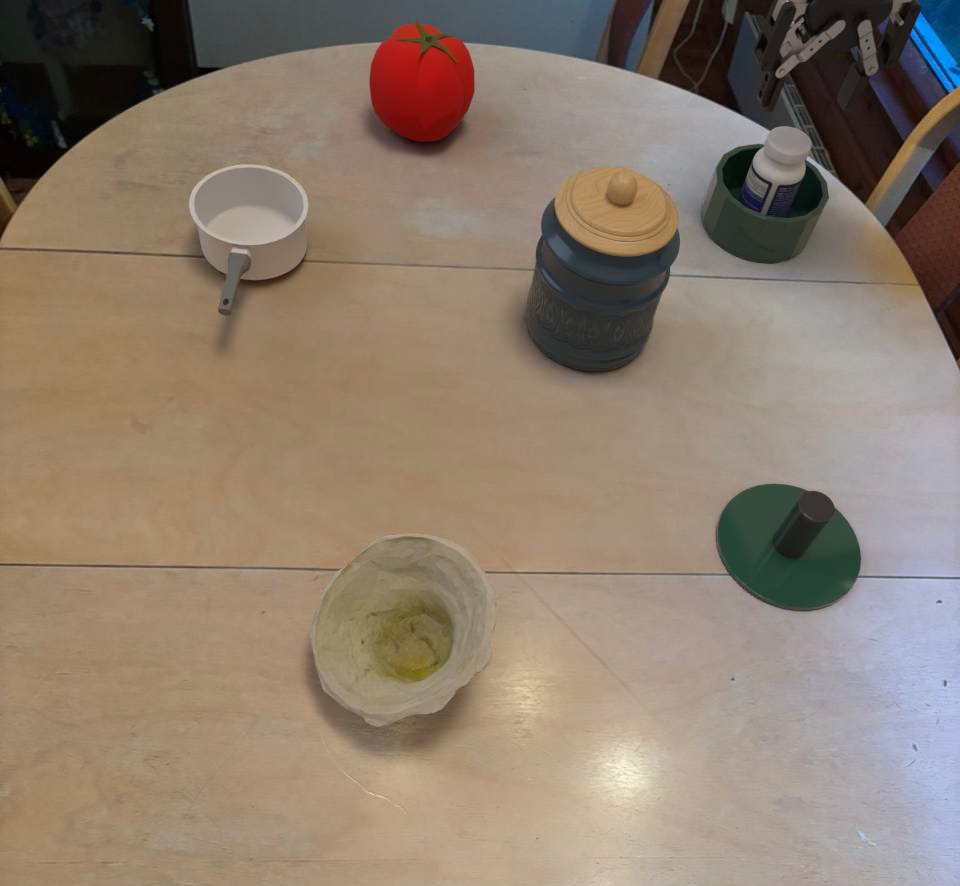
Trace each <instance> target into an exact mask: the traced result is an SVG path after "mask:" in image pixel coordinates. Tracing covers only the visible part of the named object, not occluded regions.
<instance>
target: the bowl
mask: <svg viewBox="0 0 960 886" xmlns="http://www.w3.org/2000/svg"><path fill="white" fill-rule="evenodd" d="M497 601H498V600H497V593H496V591H495V588H494V586H493V584H492V583H491V582H490V579H489V576H488V575H487V573H486V571H485V569H484V568H483V567H482V566H481V565H480V564H479V562H478V560H477V559H476V558H475V556H474V555H473V554H472V553H471V551H470V550H469V549H467V548H466V547H465V546H463V545H461V544H459V543H457V542H455V541H453V540H450V539H446V538H443V537H441V536H436V535H433V534H427V533H419V532H411V533H396V534H387V535H383V536H380V537H377V538H376V539H374V540H372V541H371V542H370V543H369V544H367V545H366V546H365V547H364V548H363V549H362V550H361V551H359V552H358V553H356V555H355V556H354V557H353V558H352V559H350V560H349V561H348V562H347V563H346V564H345V565H344V566H342V567H341V568H340V569H339V570H337V571H336V572H335V574H333V576H332V578H331V579H330V580H329V581H328V582H327V584H326V586H325V588H324V590H323V591H322V593H321V596H320V597H319V601H318V603H317V607H316V610H315V613H314V619H313V623H312V626H311V628H310V631H309V634H308V637H310V641H311V643H310V644H311V652H312V655H313V657H314V666H315V669H316V672H317V674H318V678H319V681H320V685H321V688H322V690H323V693H325V694H327V695H328V696H330V697H331V698H332V699H333V700H335V702H337V703H338V704H339V705H340V706H341V707H342V708H344V709H345V710H347V711H350V712H352V713H354V714H356V715H358V716H360V717H362V718H363V719H364V721H365V723H367V724H369V725H371V726H373V727H383V726H388V725H391V724H392V723H395V722H398V721H399V720H402V719H404V718H407V717H410V716H413V715H428V714H435V713H437V712H439V711H440V710H442V709H443V708H444V707H445V706H446V705H447V704H448V703H449V702H450V701H451V699H452V698H453V697H454V696H455V694H456V692H457V691H458V690H459V689H460V688H462V687H463V686H466V685H467V684H468V683H469V682H470V681H471V680H472V678H473V677H475V676H478V674H480V673H481V672H482V671H484V670H485V669H486V668H487V667H488V666H489V664H490V662H491V660H492V659H493V649H492V636H493V633H494V630H495V628H496V624H497V619H498V612H497V607H498V605H497V603H498V602H497Z"/></svg>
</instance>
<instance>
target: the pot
mask: <svg viewBox="0 0 960 886" xmlns="http://www.w3.org/2000/svg"><path fill="white" fill-rule="evenodd" d="M763 147H764V143H754V144H746V145H739V146H736V147H735V148H733V149H730V150H729V151H728V152H726V153H724V154H722V157H721V158H720V160H719V162H718V163H717V165H716V166H715V169H714V171H713V175H712V177H711V180H710V183H709V186H708V188H707V192H706V194H705V197H704V199H703V203H702V206H701V222H702V226H703V228H704V231H705V232H706V233H707V235H708V236H709V237H710V239H711V240H712V241H713V242H714V243H715V244H716V245H718V246H719V247H720V248H722V249H723V250H724V251H725V252H728V253H730V254H731V255H733V256H736V257H738V258H740V259H743V260H747V261H750V262H755V263H764V264H771V263H772V264H773V263H780V262H785V261H788V260H791V259H793V258H794V257H796V256H797V255H799V254H801V252H802V251H803V250H804V249H805V247H806V246H807V244H808V242H809V240H810V238H811V235H812V234H813V232H814V230H815V228H816V226H817V223H818V222H819V220H820V218H821V216H822V214H823V211H824V209H825V207H826V205H827V203H828V201H829V198H830V195H829V187H828V182H827V180H826V179H825V178H824V176H823V174H822V172H820V171H819V169H818V168H817V166H815V165H814V164H813V163H812V162H810V161H808V159H806V160H805V165H806V170H805V174H804V177H803V179H802V182H801V184H800V186H799V188H798V191H797V193H796V195H795V197H794V200H793V202H792V204H791V206H790V209H789V211H788V213H787V216H786V218H781V217H773V216H766V215H764V214H761V213H759V212H756V211H754V210H751V209H749V208H747V207H745V206H744V205H743V204H742V203H740V202H739V201H738V197H739V195H740V192H741V190H742V187H743V184H744V182H745V179H746V177H747V174H748V171H749V169H750V166H751V163H752V161H753V158H754V156H755V154H756V153H757V152H758V151H759V150H760V149H761V148H763Z"/></svg>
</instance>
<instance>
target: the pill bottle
mask: <svg viewBox="0 0 960 886" xmlns="http://www.w3.org/2000/svg"><path fill="white" fill-rule="evenodd" d="M763 144H764V147H763V148H761V149H760V150H759V151H758V152H757V153H756V154H755V156H754V158H753V161H752V163H751V166H750V169H749V171H748V174H747V177H746V179H745V182H744V184H743V187H742V190H741V192H740V195H739V197H738V201H739V202H740V203H742V204H743V205H744V206H745V207H747V208H749V209H751V210H754V211H756V212H759V213H761V214H764V215H766V216H773V217H781V218H786V216H787V213H788V211H789V209H790V206H791V204H792V202H793V200H794V197H795V195H796V193H797V191H798V188H799V186H800V184H801V182H802V179H803V177H804V174H805V170H806V165H805V160H808V157H809V154H810V153H811V152H810V151H811V149H812V146H813V144H812V140H811V138H810V136H809V135H808V134H806V133H805V132H804V131H803V130H800V129H798V128H796V127H793V126H787V125H785V126H783V125H782V126H776V127H774V128H772V129H771V130H770V131H769V132H768V134H767V136H766V138H765V140H764V143H763Z"/></svg>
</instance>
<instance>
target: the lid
mask: <svg viewBox="0 0 960 886" xmlns="http://www.w3.org/2000/svg"><path fill="white" fill-rule="evenodd" d="M716 525H717V526H716V532H715V533H716V534H715V536H716V537H715V539H716V547H717V550H718V553H719V556H720V558H721V561H722V563H723V565H724V567H725V568H726V570H727V571H728V573H729V574H730V576H731V577H732V578H733V579H734V581H736V582H737V584H739V586H740V587H742V588H743V589H744V590H746V591H747V593H749V594H751V595H752V596H754V597H755V598H757V599H759V600H761V601H762V602H765V603H767V604H769V605H772V606H774V607H777V608H780V609H781V608H782V609H784V610H785V609H786V610H791V611H813V610H818V609H819V610H820V609H823V608H825V607H828V606H831V605H833V604H835V603H837V602H838V601H840V600H841V599H842V598H844V597H845V595H847V594H848V593H849V592H850V591H851V589H852V588H853V586H854V585H855V583H856V582H857V579H858V578H859V575H860V571H861V565H862V552H861V547H860V543H859V539H858V536H857V535H856V533H855V531H854V529H853V527H852V526H851V524H850V522H849V521H848V520H847V518H846V517H845V516H844V515H843V514H842V512H841V511H840V510H839V509H838V508H836V507H835V504H834V502H833V500H832V499H831V497H830V496H828V495H827V494H825V493H823V492H821V491H819V490H807V489H805V488H802V487H799V486H796V485H790V484H787V483H786V484H785V483H765V484H758V485H755V486H751V487H748V488H746V489H744V490H742V491H741V492H739V493H737V494H736V495H735V496H734V497H732V498H731V499H730V500H729V501H728V502H727V504H726V505H725V506H724V508H723V509H722V512H721V513H720V516H719V518H718V521H717V524H716Z"/></svg>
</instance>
